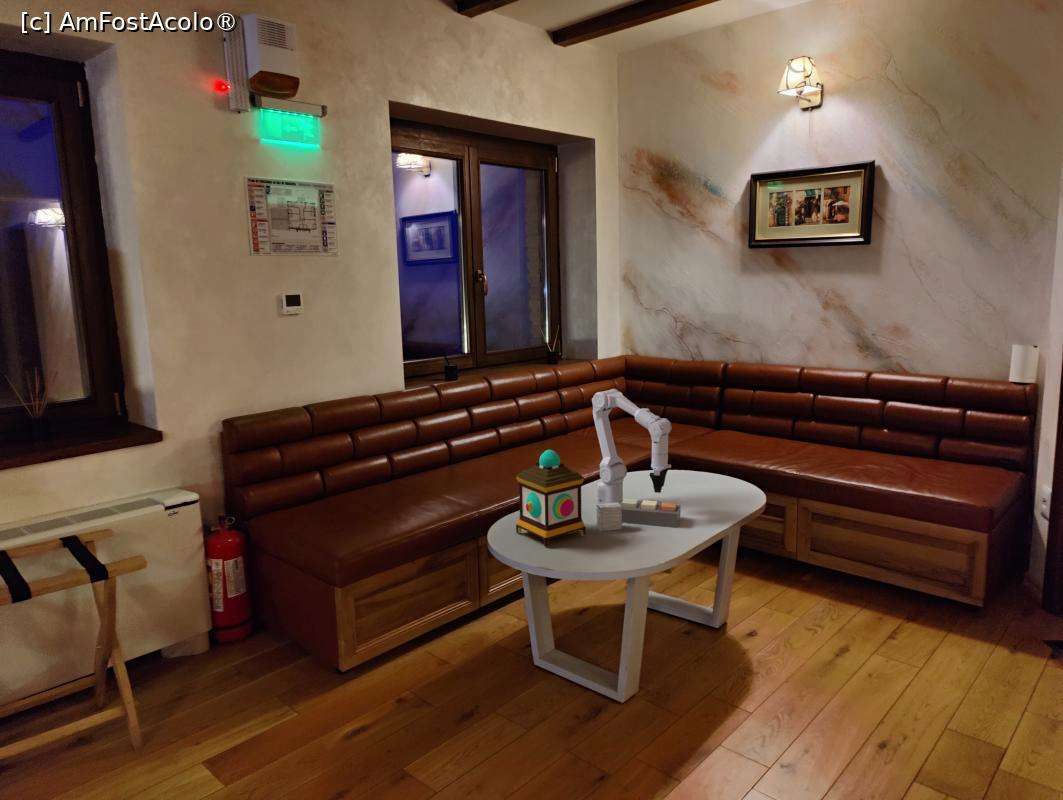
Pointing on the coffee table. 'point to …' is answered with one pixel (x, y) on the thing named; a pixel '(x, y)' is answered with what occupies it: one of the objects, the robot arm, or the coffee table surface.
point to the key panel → (651, 516)
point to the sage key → (630, 503)
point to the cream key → (649, 505)
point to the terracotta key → (669, 506)
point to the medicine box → (609, 516)
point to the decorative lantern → (550, 499)
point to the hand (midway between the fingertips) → (659, 489)
